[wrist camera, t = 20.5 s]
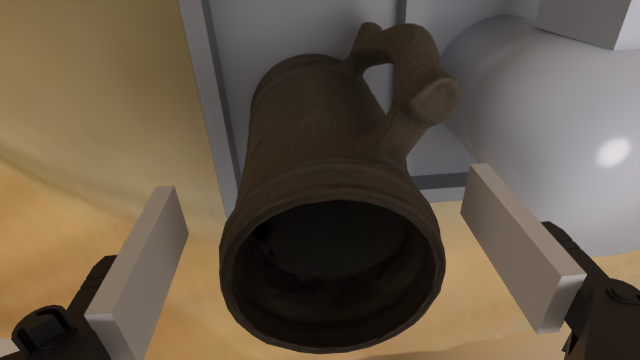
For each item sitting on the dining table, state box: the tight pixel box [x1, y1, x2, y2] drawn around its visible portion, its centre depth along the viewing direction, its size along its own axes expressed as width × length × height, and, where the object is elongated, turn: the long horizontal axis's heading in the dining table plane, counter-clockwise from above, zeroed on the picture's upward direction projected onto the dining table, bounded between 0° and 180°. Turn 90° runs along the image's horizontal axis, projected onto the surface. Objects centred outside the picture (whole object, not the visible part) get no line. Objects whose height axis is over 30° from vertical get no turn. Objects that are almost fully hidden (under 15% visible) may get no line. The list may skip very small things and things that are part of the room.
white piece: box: [440, 0, 640, 257], centre depth 24 cm, size 10×13×16 cm
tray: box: [178, 0, 540, 218], centre depth 31 cm, size 32×21×4 cm, turn 93°
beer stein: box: [219, 22, 461, 354], centre depth 23 cm, size 15×11×20 cm
